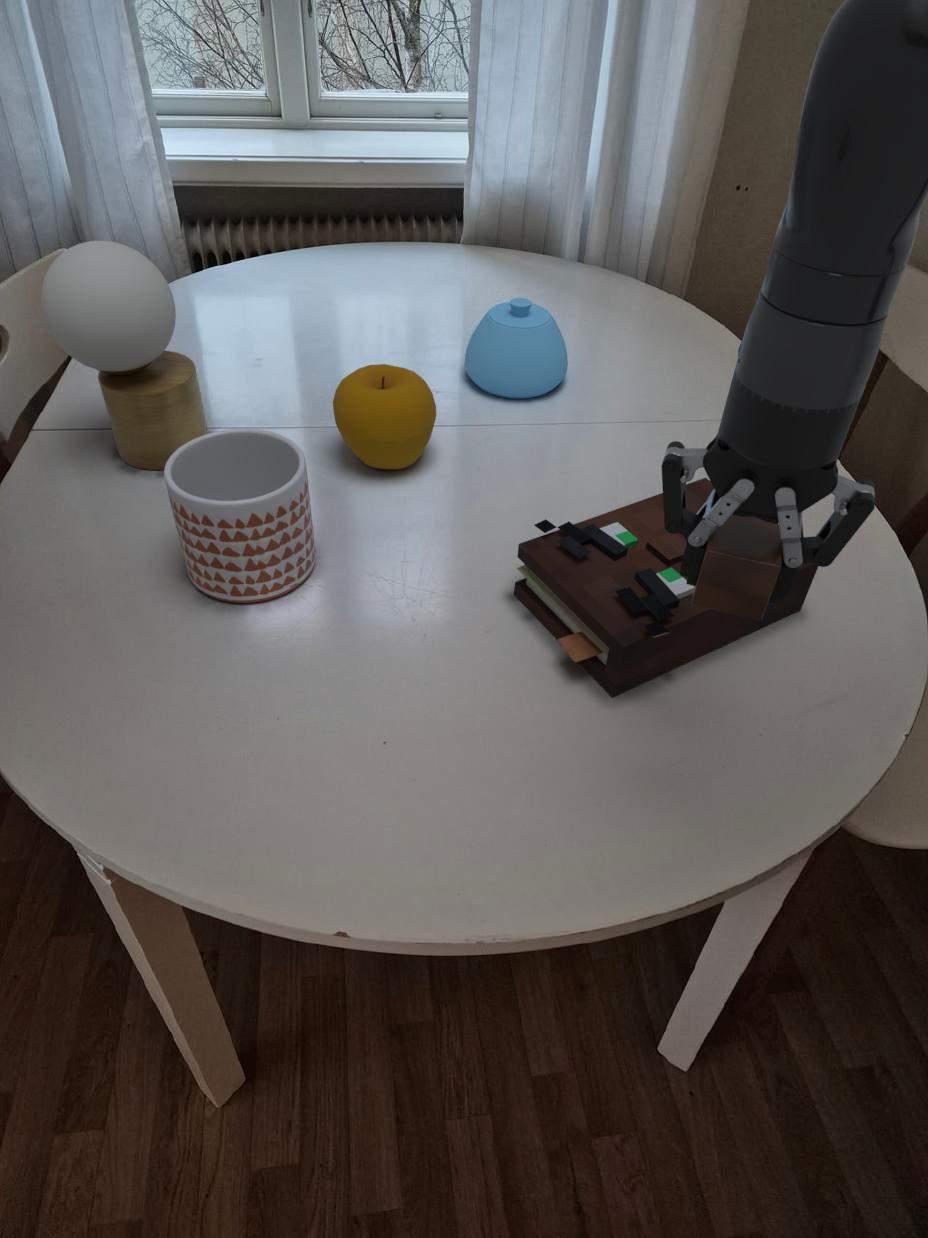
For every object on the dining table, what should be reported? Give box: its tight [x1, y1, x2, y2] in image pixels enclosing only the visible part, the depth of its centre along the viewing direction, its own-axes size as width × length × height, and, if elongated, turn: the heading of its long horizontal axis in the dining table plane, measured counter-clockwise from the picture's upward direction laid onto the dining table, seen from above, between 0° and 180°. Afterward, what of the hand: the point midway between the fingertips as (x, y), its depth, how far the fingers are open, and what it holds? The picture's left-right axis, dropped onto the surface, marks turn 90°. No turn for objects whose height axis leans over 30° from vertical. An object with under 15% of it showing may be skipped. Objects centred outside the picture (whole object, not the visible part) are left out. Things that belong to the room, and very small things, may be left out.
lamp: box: [40, 240, 209, 471], centre depth 102 cm, size 15×14×25 cm
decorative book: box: [513, 477, 819, 698], centre depth 88 cm, size 19×8×30 cm
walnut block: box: [691, 515, 783, 621], centre depth 62 cm, size 5×5×5 cm
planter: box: [163, 428, 317, 604], centre depth 89 cm, size 14×14×13 cm
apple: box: [332, 363, 437, 470], centre depth 106 cm, size 13×13×11 cm
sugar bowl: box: [464, 297, 569, 399], centre depth 123 cm, size 15×15×12 cm
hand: (731, 587), depth 63 cm, fingers closed on walnut block, 5 cm apart
